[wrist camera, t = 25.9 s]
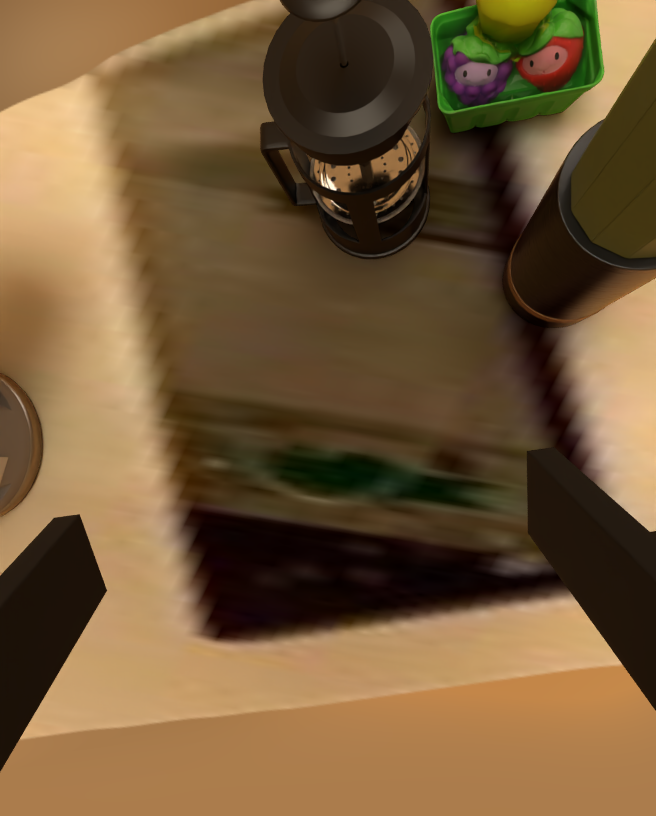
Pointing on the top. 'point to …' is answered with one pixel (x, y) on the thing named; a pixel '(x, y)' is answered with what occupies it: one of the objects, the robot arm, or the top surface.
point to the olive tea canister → (622, 171)
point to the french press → (351, 116)
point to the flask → (566, 260)
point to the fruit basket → (514, 59)
